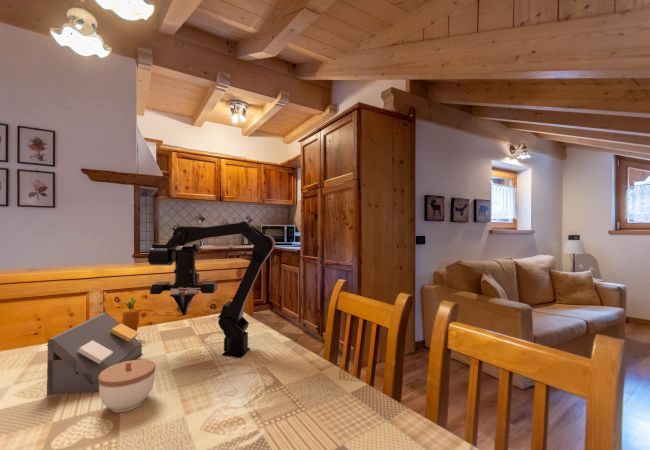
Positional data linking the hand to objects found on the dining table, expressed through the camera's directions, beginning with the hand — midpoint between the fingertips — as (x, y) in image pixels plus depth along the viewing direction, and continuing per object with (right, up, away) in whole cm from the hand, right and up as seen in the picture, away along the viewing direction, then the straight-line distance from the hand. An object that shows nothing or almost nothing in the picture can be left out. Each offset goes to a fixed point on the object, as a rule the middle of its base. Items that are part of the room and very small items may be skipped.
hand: (184, 314), depth 95 cm
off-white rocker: (-13, -6, -19) cm, 24 cm away
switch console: (-17, -12, -12) cm, 24 cm away
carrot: (-23, -12, +9) cm, 27 cm away
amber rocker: (-15, -6, -5) cm, 17 cm away
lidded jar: (0, -12, -27) cm, 30 cm away
